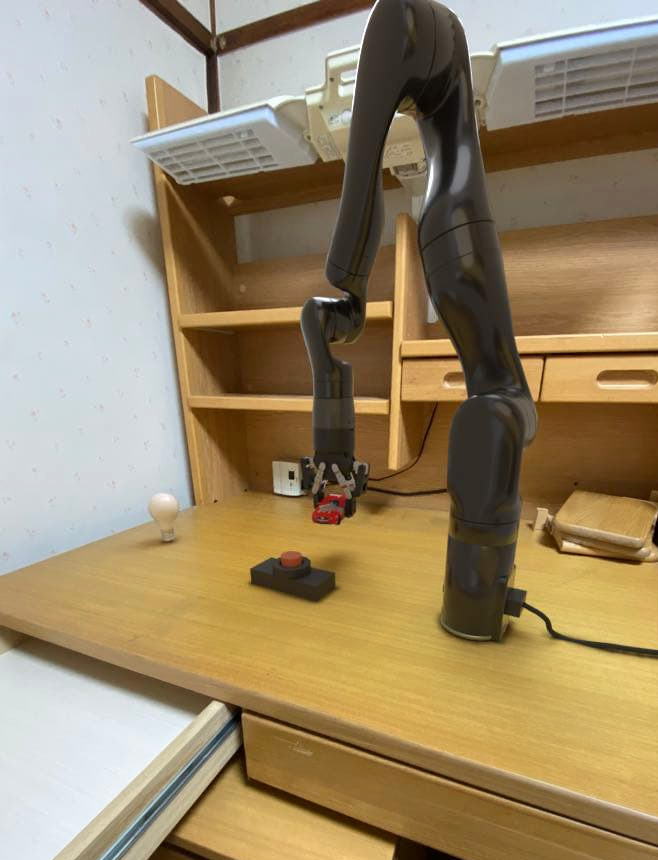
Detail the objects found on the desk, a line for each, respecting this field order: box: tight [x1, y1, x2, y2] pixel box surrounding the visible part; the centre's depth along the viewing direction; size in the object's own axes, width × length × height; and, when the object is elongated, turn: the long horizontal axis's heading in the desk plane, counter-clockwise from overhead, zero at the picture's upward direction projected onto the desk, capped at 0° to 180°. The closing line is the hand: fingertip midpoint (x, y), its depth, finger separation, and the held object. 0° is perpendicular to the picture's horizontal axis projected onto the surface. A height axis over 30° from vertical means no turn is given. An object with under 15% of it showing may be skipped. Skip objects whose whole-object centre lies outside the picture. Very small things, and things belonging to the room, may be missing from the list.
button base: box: [249, 555, 336, 603], centre depth 80 cm, size 14×6×4 cm, turn 59°
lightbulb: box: [147, 492, 180, 543], centre depth 100 cm, size 6×6×11 cm
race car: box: [311, 492, 346, 526], centre depth 87 cm, size 13×5×4 cm, turn 161°
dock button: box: [280, 550, 303, 567], centre depth 79 cm, size 4×4×2 cm
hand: (334, 513), depth 87 cm, fingers closed on race car, 6 cm apart
